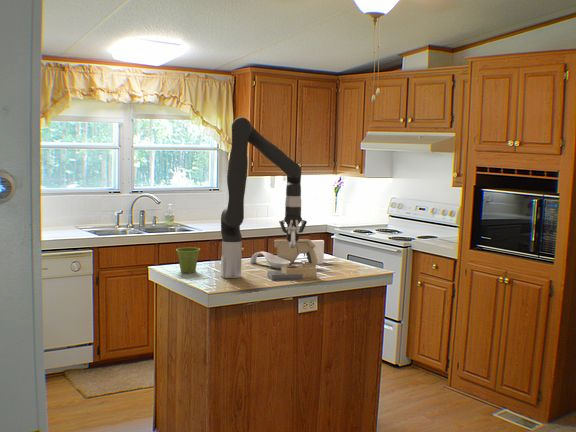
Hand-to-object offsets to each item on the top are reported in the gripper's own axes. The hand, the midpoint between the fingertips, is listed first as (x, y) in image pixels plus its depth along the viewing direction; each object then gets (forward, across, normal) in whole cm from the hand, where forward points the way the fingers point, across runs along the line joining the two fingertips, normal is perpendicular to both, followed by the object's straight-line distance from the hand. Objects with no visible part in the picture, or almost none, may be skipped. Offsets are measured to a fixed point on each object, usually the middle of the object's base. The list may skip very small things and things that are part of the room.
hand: (292, 241), depth 285 cm
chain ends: (+18, 0, 0) cm, 18 cm away
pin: (+3, 0, 0) cm, 3 cm away
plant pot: (+18, -47, +22) cm, 55 cm away
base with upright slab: (+18, +24, +36) cm, 47 cm away
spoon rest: (+18, -3, +30) cm, 35 cm away
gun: (+18, +10, +28) cm, 35 cm away
